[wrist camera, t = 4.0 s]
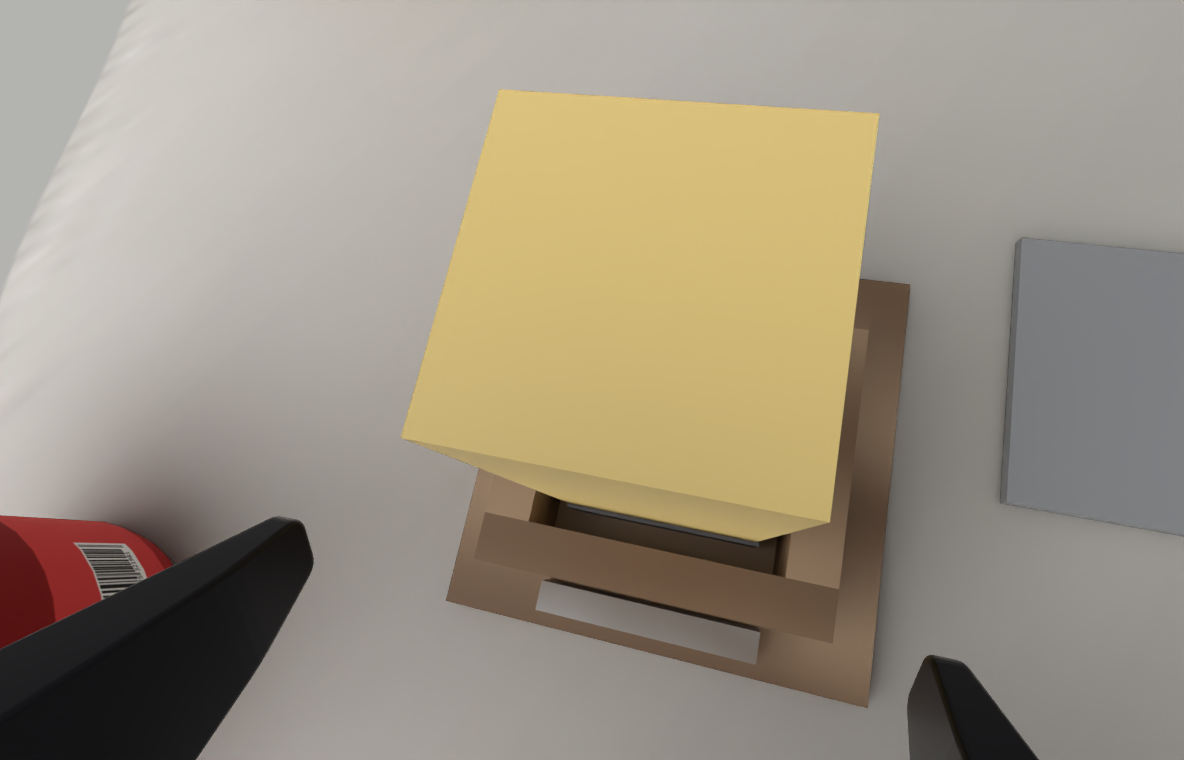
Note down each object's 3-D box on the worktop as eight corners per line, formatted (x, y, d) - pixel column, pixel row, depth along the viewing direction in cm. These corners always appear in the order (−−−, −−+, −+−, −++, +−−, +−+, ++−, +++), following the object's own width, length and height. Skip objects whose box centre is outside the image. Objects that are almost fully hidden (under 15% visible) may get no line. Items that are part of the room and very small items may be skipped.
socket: (862, 703, 17) (901, 739, 14) (452, 599, 20) (400, 608, 16) (905, 291, 20) (946, 237, 16) (539, 247, 22) (510, 193, 19)
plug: (753, 547, 18) (839, 533, 7) (578, 510, 19) (391, 444, 8) (779, 373, 19) (888, 107, 8) (612, 348, 20) (494, 82, 9)
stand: (1350, 566, 16) (1365, 566, 16) (1000, 502, 18) (1006, 501, 17) (1331, 275, 18) (1345, 269, 17) (1015, 244, 20) (1022, 237, 19)
